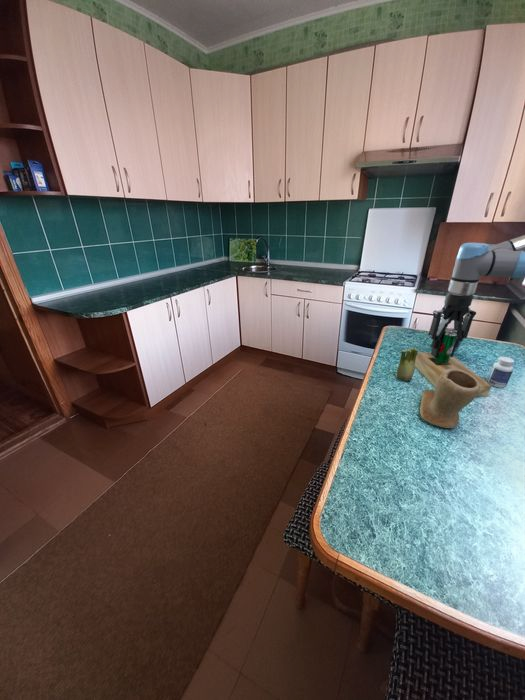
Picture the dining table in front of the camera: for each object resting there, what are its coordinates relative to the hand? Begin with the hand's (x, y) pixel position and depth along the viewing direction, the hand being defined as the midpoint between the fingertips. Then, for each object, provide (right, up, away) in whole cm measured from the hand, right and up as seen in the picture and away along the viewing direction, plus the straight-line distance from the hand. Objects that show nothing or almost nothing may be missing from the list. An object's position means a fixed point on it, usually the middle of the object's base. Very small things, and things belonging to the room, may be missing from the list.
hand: (441, 355), depth 106 cm
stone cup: (-12, -18, -19) cm, 29 cm away
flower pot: (+11, +1, +17) cm, 20 cm away
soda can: (0, -2, +1) cm, 2 cm away
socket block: (0, -8, -1) cm, 8 cm away
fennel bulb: (-15, -9, -2) cm, 17 cm away
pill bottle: (+15, -10, -6) cm, 19 cm away
